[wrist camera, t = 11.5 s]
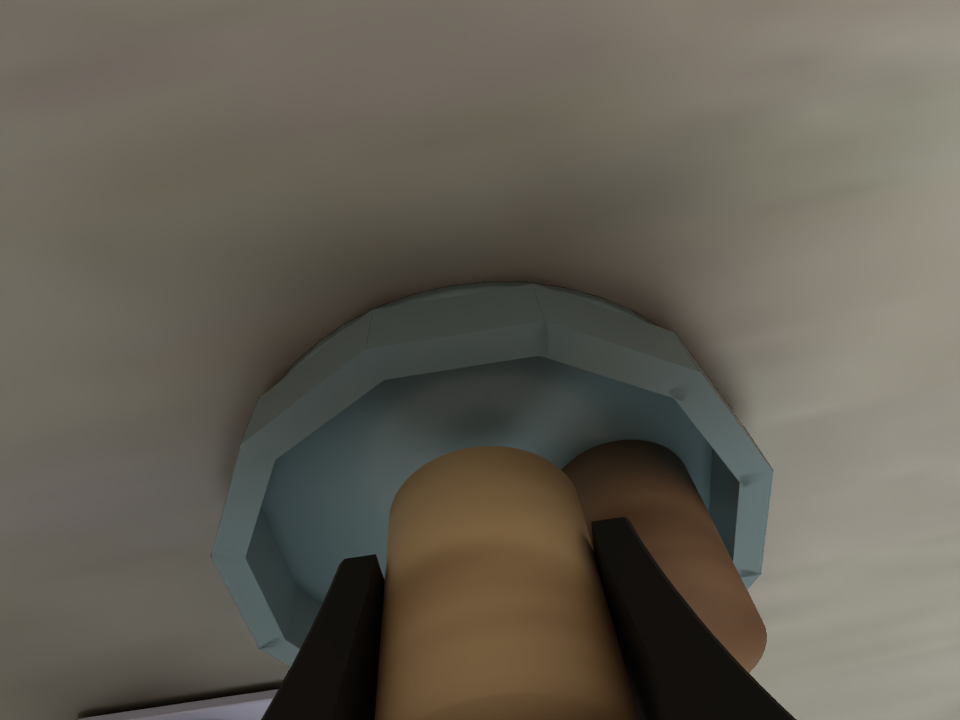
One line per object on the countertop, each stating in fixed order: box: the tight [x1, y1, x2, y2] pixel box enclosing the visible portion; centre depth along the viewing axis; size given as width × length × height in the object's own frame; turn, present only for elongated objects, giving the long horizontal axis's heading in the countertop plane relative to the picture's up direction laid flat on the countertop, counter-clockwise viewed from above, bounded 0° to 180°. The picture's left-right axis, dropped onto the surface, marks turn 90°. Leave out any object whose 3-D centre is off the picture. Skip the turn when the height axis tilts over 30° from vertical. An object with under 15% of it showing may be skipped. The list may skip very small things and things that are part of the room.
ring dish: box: [211, 282, 773, 667], centre depth 18 cm, size 14×14×2 cm
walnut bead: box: [562, 440, 767, 673], centre depth 16 cm, size 4×4×5 cm
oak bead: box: [374, 446, 640, 720], centre depth 12 cm, size 4×4×5 cm
